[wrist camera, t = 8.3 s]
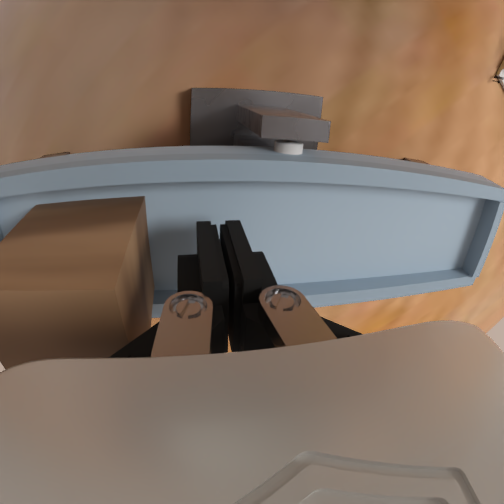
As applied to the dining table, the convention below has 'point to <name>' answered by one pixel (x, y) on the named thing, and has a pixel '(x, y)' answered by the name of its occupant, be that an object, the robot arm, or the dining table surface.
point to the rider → (75, 280)
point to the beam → (286, 213)
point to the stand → (255, 119)
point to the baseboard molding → (500, 75)
